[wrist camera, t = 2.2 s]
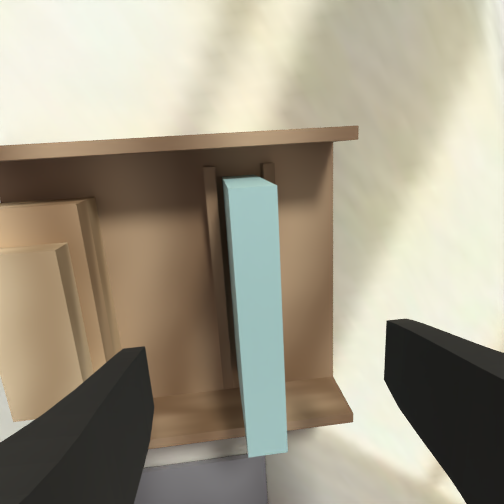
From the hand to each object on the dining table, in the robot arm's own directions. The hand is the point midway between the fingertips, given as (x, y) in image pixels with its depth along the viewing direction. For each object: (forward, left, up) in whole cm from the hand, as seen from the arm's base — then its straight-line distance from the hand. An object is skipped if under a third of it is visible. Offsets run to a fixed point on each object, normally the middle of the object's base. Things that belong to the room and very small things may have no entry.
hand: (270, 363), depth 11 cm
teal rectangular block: (0, 0, -8) cm, 8 cm away
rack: (-3, 0, -9) cm, 9 cm away
